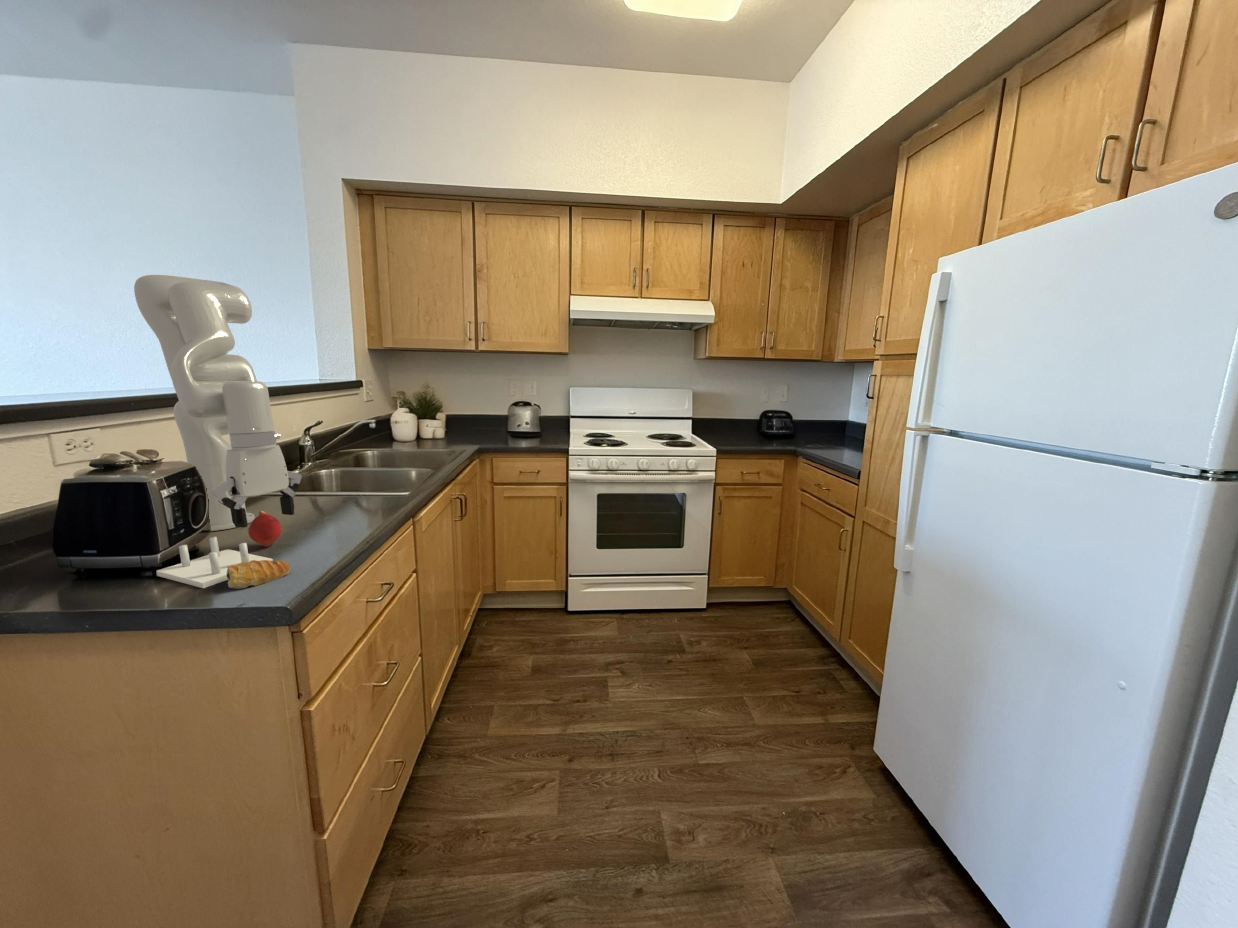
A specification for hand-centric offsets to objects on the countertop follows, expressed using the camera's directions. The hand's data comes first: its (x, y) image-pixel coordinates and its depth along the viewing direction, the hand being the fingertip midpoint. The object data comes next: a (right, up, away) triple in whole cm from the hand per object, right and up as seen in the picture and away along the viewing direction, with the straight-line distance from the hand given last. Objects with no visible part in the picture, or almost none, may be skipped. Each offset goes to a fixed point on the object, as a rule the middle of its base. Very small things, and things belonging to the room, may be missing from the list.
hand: (265, 520), depth 104 cm
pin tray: (-2, -8, -11) cm, 14 cm away
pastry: (+9, -10, -15) cm, 20 cm away
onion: (-1, -6, +2) cm, 6 cm away
